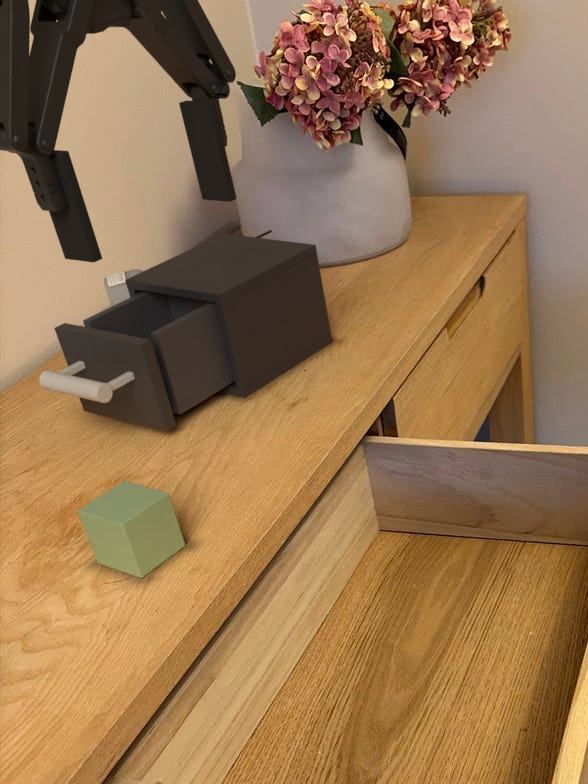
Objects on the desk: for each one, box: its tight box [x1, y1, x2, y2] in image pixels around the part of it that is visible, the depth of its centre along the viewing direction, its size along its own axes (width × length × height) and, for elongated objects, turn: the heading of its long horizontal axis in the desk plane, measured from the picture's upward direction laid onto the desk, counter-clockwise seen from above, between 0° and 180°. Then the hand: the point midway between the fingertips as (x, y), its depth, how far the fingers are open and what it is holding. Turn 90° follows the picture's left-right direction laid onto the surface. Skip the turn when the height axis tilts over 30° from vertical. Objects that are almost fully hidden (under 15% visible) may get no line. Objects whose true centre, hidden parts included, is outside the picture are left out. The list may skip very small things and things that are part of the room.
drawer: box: [38, 291, 235, 432], centre depth 87 cm, size 17×10×8 cm, turn 150°
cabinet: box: [125, 233, 333, 399], centre depth 95 cm, size 14×12×10 cm
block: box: [77, 480, 186, 579], centre depth 70 cm, size 4×4×4 cm
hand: (156, 227), depth 69 cm, fingers open, 13 cm apart
